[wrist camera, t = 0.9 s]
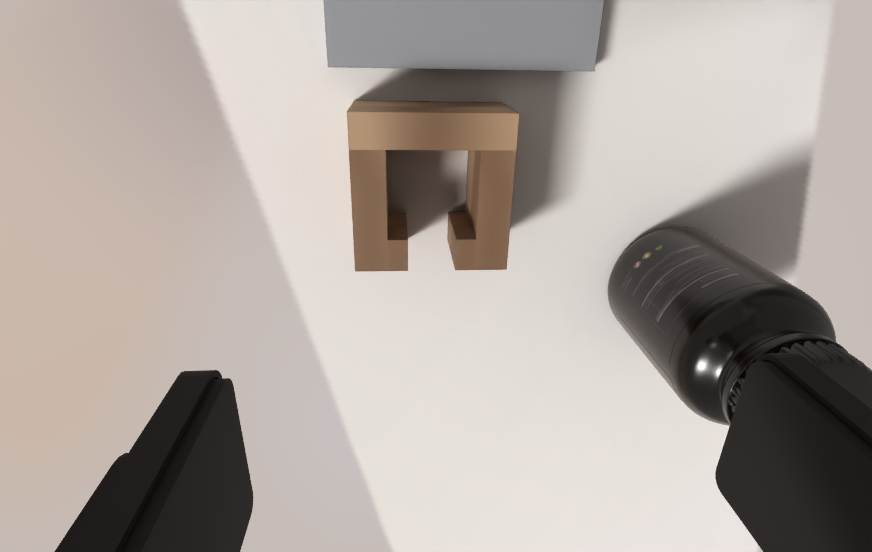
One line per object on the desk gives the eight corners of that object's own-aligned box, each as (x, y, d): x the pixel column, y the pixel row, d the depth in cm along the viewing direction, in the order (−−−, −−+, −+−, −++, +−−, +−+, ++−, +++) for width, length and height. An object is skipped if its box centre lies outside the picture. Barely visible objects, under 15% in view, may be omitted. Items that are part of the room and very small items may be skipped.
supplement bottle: (743, 276, 30) (941, 413, 19) (647, 350, 32) (779, 514, 21) (679, 196, 28) (864, 299, 17) (579, 280, 29) (688, 424, 18)
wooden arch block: (501, 102, 25) (519, 113, 21) (492, 239, 28) (506, 269, 24) (354, 100, 24) (347, 111, 21) (360, 240, 27) (355, 271, 24)
